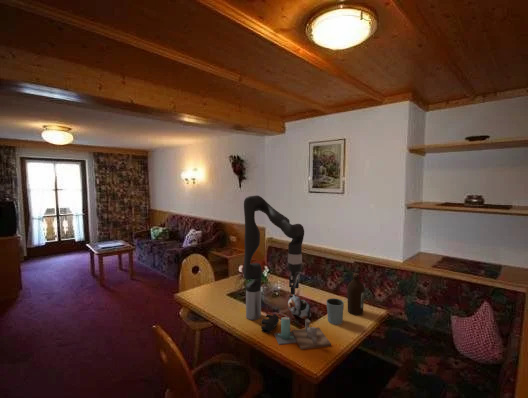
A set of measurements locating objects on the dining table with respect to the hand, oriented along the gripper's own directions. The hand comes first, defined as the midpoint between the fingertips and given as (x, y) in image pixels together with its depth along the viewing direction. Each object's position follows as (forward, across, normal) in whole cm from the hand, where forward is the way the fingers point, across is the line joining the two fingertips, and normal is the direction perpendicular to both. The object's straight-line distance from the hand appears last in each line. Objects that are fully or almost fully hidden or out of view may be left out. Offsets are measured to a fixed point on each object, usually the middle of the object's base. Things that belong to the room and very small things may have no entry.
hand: (294, 291), depth 151 cm
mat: (+25, +4, -4) cm, 26 cm away
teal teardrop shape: (+24, +4, -4) cm, 25 cm away
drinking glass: (+25, -24, +19) cm, 40 cm away
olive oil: (+25, -40, +30) cm, 56 cm away
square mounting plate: (+25, 0, +9) cm, 27 cm away
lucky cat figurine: (+25, -24, -2) cm, 35 cm away
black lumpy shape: (+25, -2, -15) cm, 29 cm away
